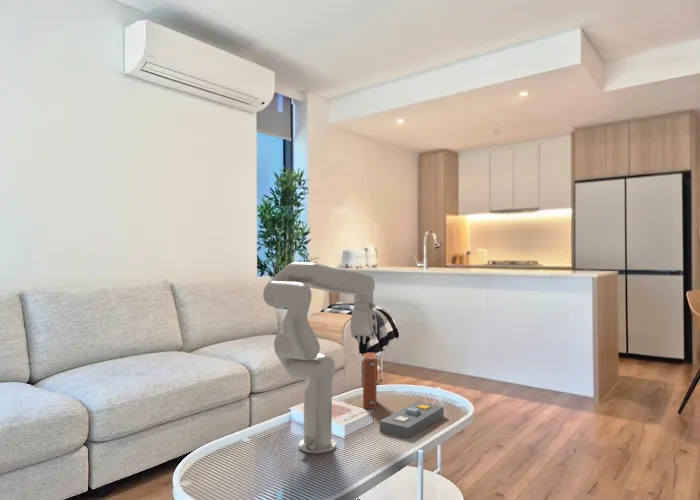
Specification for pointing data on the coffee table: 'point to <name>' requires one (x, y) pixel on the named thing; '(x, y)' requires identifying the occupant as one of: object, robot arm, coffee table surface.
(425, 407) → the amber button
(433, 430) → the coffee table surface
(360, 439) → the coffee table surface
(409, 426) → the button strip
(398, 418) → the white button
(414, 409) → the slate button
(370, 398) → the terracotta rectangular block
